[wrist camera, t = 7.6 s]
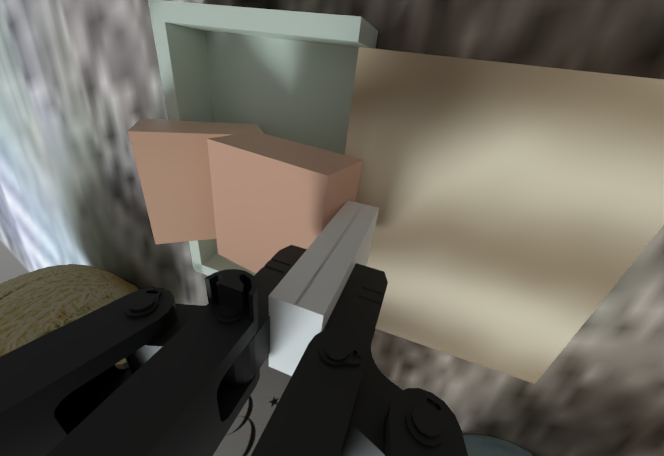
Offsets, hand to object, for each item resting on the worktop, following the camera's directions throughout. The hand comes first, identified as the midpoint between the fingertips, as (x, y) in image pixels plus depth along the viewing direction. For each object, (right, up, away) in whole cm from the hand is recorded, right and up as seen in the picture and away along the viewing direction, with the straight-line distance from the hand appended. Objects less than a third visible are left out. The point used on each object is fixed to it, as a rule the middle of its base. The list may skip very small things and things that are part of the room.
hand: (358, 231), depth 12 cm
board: (+6, +1, +3) cm, 7 cm away
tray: (-5, +4, +6) cm, 9 cm away
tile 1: (-3, +1, +2) cm, 4 cm away
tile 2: (-8, +2, +2) cm, 8 cm away
